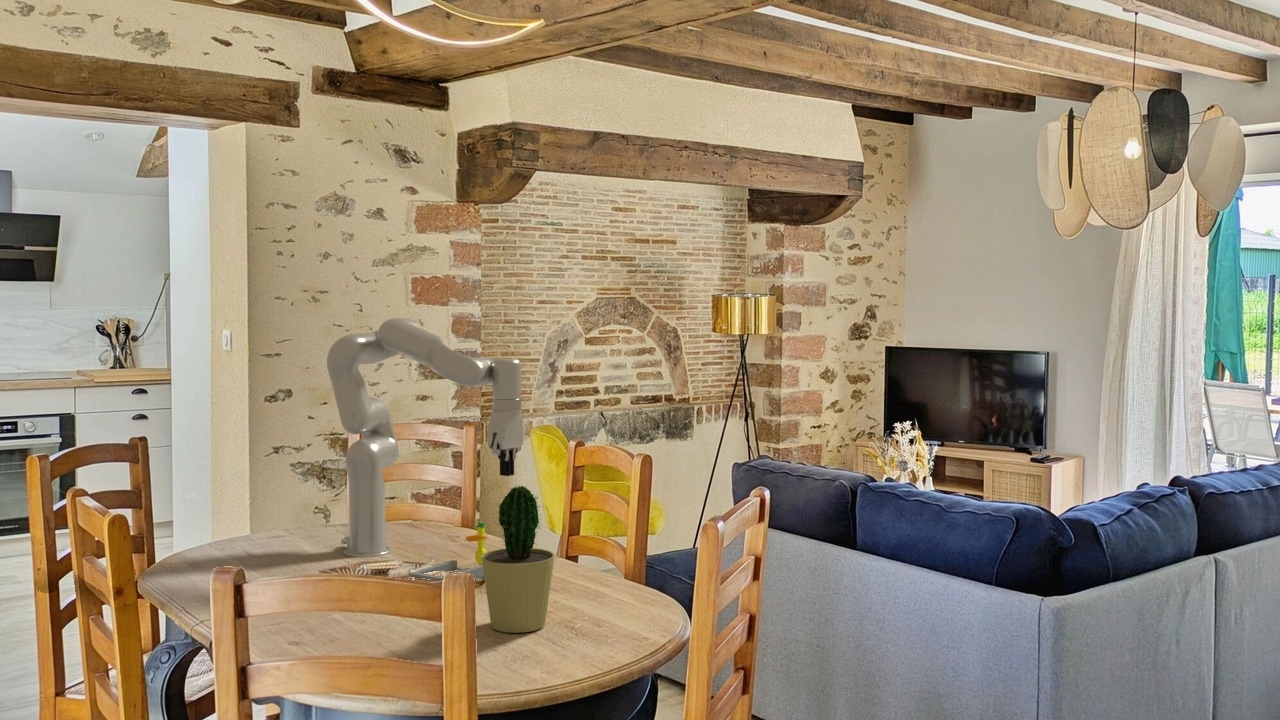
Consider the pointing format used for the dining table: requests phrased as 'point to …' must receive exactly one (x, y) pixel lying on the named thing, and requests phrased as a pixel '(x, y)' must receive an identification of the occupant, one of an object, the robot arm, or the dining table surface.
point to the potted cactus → (518, 568)
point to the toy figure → (479, 541)
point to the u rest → (447, 566)
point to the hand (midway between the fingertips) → (506, 474)
